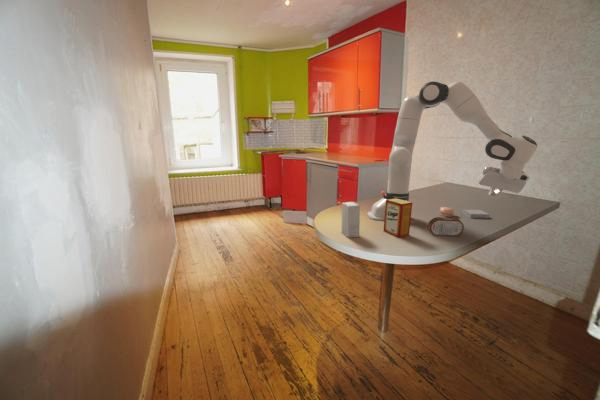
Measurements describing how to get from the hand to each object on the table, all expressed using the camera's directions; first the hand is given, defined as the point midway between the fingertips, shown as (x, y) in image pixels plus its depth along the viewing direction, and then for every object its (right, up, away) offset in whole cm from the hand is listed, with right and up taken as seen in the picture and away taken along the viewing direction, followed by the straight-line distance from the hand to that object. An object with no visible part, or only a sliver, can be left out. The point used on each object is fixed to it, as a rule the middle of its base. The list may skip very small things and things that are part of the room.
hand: (491, 195), depth 140 cm
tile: (+5, -11, +17) cm, 21 cm away
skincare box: (-72, -19, -8) cm, 74 cm away
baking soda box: (-50, -18, -6) cm, 53 cm away
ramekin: (-11, -11, +23) cm, 27 cm away
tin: (-28, -19, -9) cm, 35 cm away
